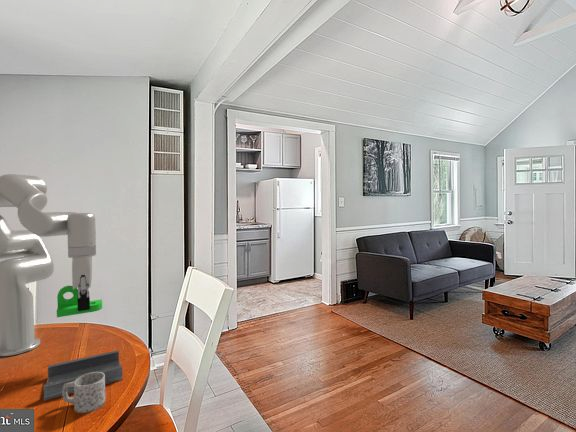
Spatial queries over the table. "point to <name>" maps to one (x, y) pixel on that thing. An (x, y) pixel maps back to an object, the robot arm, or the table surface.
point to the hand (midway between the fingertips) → (83, 306)
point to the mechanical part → (73, 303)
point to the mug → (86, 392)
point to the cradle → (81, 372)
